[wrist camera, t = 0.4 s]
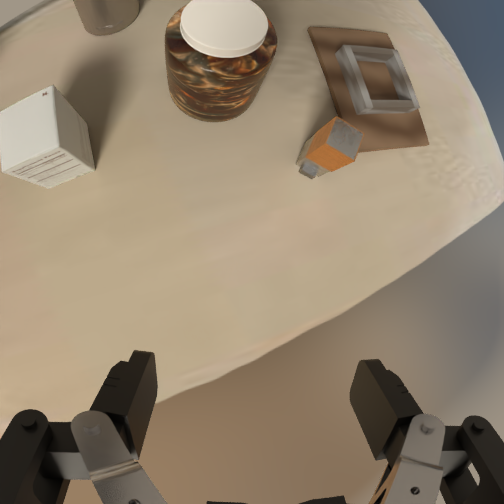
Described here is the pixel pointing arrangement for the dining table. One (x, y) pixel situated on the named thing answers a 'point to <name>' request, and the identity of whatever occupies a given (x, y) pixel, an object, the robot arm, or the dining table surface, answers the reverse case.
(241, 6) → the jar
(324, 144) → the orange rectangular block
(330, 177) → the dining table surface
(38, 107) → the supplement box
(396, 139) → the socket board
